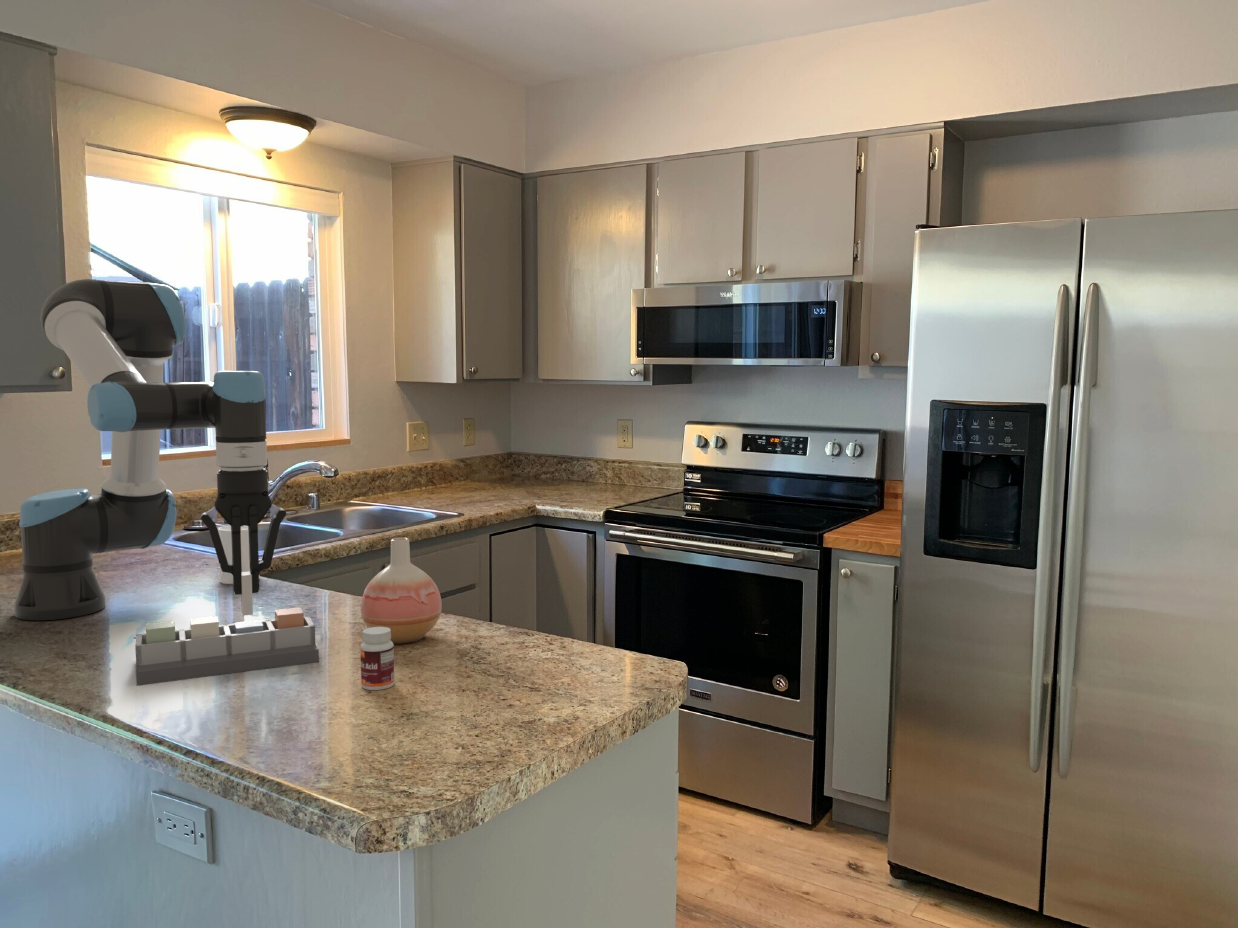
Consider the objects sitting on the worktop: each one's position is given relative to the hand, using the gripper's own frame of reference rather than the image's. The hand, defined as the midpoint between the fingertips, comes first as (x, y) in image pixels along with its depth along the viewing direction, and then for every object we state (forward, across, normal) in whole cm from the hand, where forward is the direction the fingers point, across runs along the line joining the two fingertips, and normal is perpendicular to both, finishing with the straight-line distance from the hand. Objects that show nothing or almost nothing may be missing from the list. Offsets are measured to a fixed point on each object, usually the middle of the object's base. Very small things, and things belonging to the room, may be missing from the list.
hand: (247, 612), depth 151 cm
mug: (+8, +3, +62) cm, 62 cm away
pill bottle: (+7, +16, -23) cm, 29 cm away
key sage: (+3, -13, 0) cm, 13 cm away
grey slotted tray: (+7, -3, 0) cm, 8 cm away
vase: (+8, +25, 0) cm, 26 cm away
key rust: (+3, +6, 0) cm, 7 cm away
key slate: (+5, 0, 0) cm, 5 cm away
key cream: (+3, -6, 0) cm, 7 cm away
